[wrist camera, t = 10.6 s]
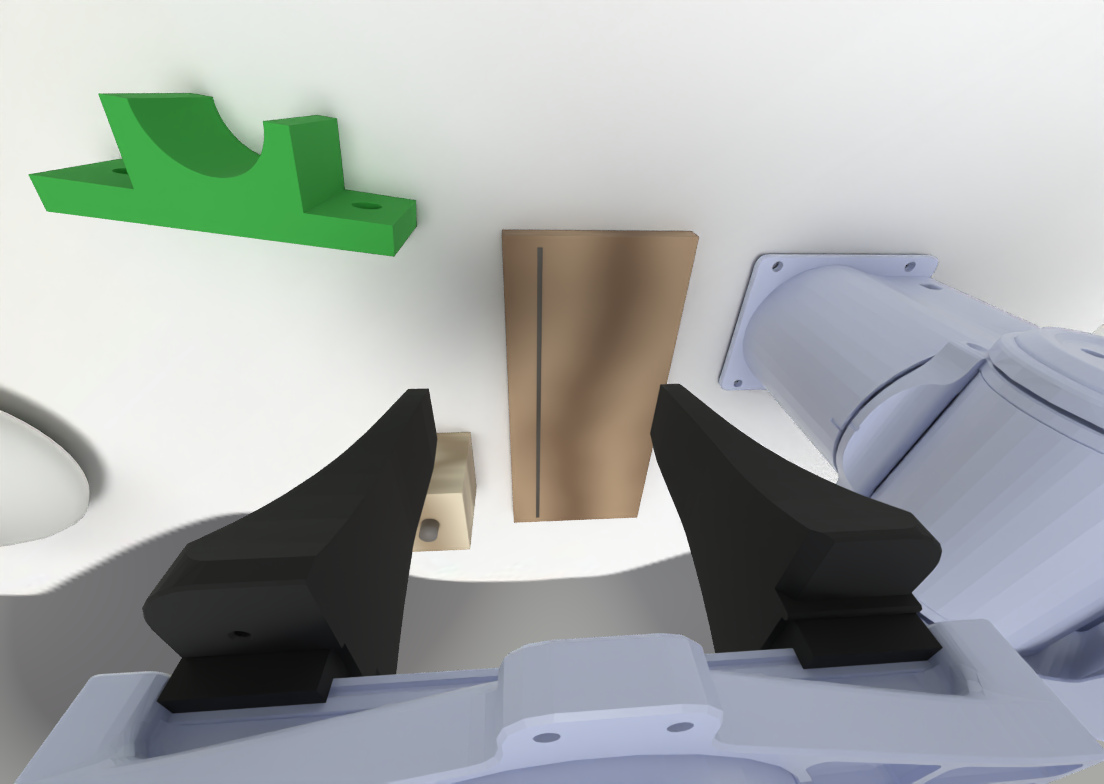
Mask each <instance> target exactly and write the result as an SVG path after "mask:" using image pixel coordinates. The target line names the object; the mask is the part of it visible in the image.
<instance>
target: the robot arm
mask: <svg viewBox="0 0 1104 784" xmlns="http://www.w3.org/2000/svg"><path fill="white" fill-rule="evenodd" d="M778 261H779V264H778V266H777V267H776V268H775V269H772V267H773V265H774V264H775V263H776V262H778ZM908 263H909V265H908V266H907V267H906V268H905V266H906V265H907V264H908ZM937 265H938V259H937V258H936V257H934V256H931V255H851V254H766V255H763V256H761V257H760V258H759V259H758V260H757V261H756V263H755V266H754V269H753V272H752V276H751V279H750V282H749V285H748V289H747V292H746V295H745V298H744V302H743V305H742V308H741V311H740V315H739V318H738V321H737V324H736V328H735V331H734V334H733V337H732V341H731V344H730V347H729V350H728V354H727V357H726V360H725V364H724V367H723V370H722V373H721V377H720V380H719V384H720V386H721V387H722V388H723V389H724V390H759V389H767V390H768V391H769V393H770V394H771V395H772V396H773V397H774V398H775V400H776V401H777V402H778V403H779V404H780V406H781V407H782V408H783V409H784V410H785V411H786V413H787V414H788V415H789V416H790V417H791V419H792V420H793V421H794V422H795V423H796V425H797V426H798V427H799V428H800V429H801V430H802V432H803V433H804V434H805V435H806V436H807V438H808V439H809V440H810V441H811V442H812V443H813V445H814V446H815V447H816V448H817V449H818V451H819V452H820V453H821V454H822V455H823V456H824V458H825V459H826V460H827V461H828V462H829V464H830V465H831V466H832V467H833V468H834V469H835V471H836V472H837V473H838V474H839V477H838V481H837V484H834V483H832V482H830V481H828V480H825V479H823V478H821V477H819V476H817V475H815V474H813V473H811V472H809V471H807V470H805V469H803V468H801V467H799V466H797V465H795V464H793V463H791V462H789V461H787V460H786V459H784V458H782V457H780V456H779V455H777V454H775V453H774V452H772V451H770V450H769V449H767V448H765V447H764V446H762V445H760V444H759V443H757V442H756V441H754V440H753V439H751V438H750V437H748V436H747V435H746V434H744V433H743V432H741V431H740V430H738V429H737V428H736V427H734V426H733V425H731V424H730V423H729V422H727V421H726V420H725V419H723V418H722V417H721V416H720V415H718V414H717V413H716V412H714V411H713V410H712V409H711V408H709V407H708V406H707V405H706V404H704V403H703V402H702V401H701V400H699V399H698V398H697V397H696V396H694V395H693V394H692V393H691V392H689V391H688V390H687V389H686V388H684V387H683V386H682V385H680V384H660V389H659V393H658V398H657V403H656V408H655V412H654V417H653V422H652V427H651V431H650V436H651V440H652V444H653V448H654V452H655V456H656V460H657V463H658V465H659V468H660V470H661V473H662V475H663V478H664V480H665V483H666V485H667V487H668V490H669V492H670V495H671V497H672V500H673V502H674V504H675V507H676V509H677V512H678V514H679V517H680V519H681V522H682V525H683V527H684V530H685V533H686V536H687V540H688V543H689V547H690V550H691V554H692V557H693V561H694V565H695V568H696V572H697V576H698V579H699V583H700V587H701V591H702V595H703V600H704V604H705V608H706V612H707V617H708V621H709V625H710V630H711V635H712V639H713V644H714V649H715V653H712V654H704V652H703V649H702V646H701V645H700V644H698V643H696V642H695V641H693V640H691V639H689V638H687V637H685V636H683V635H678V634H663V633H658V634H641V635H624V636H610V637H609V636H608V637H594V638H593V637H592V638H576V639H561V640H547V641H543V642H537V643H531V644H526V645H524V646H522V647H520V648H518V649H516V650H515V651H513V652H511V653H509V654H508V655H507V656H506V657H505V658H504V660H503V662H502V664H501V666H500V668H486V669H471V670H457V671H441V672H426V673H411V674H396V669H397V661H398V651H399V643H400V634H401V627H402V619H403V610H404V604H405V596H406V590H407V583H408V576H409V570H410V564H411V558H412V551H413V545H414V541H415V536H416V532H417V528H418V524H419V521H420V517H421V513H422V510H423V506H424V502H425V499H426V495H427V492H428V488H429V484H430V480H431V477H432V473H433V469H434V463H435V456H436V448H437V440H438V439H437V433H436V428H435V422H434V416H433V411H432V405H431V399H430V394H429V389H408V390H407V391H406V392H405V393H404V394H403V395H402V396H401V397H400V398H399V399H398V400H397V401H396V402H395V403H394V404H393V405H392V406H391V408H390V409H389V410H388V411H387V412H386V413H385V414H384V415H383V416H382V417H381V418H380V419H379V420H378V421H377V422H376V423H375V424H374V425H373V426H372V427H371V428H370V429H369V430H368V431H367V432H366V433H365V434H364V435H363V436H362V437H361V438H359V439H358V440H357V441H356V442H355V443H354V444H353V445H352V446H351V447H350V448H348V449H347V450H346V451H345V452H344V453H342V454H341V455H340V456H339V457H338V458H336V459H335V460H334V461H332V462H331V463H330V464H328V465H327V466H326V467H324V468H323V469H322V470H320V471H319V472H318V473H316V474H315V475H313V476H312V477H310V478H309V479H307V480H306V481H304V482H303V483H301V484H300V485H298V486H297V487H295V488H294V489H292V490H290V491H289V492H287V493H286V494H284V495H283V496H281V497H279V498H278V499H276V500H274V501H272V502H271V503H269V504H267V505H265V506H264V507H262V508H260V509H258V510H256V511H254V512H253V513H251V514H249V515H247V516H245V517H243V518H241V519H239V520H238V521H235V522H234V523H232V524H229V525H227V526H225V527H223V528H221V529H219V530H217V531H214V532H212V533H210V534H208V535H206V536H204V537H202V538H200V539H198V540H195V541H193V542H191V543H188V544H187V545H186V547H185V548H184V549H183V550H182V552H181V553H180V554H179V556H178V557H177V559H176V560H175V561H174V563H173V564H172V565H171V567H170V568H169V569H168V571H167V572H166V574H165V575H164V576H163V578H162V579H161V581H160V582H159V583H158V585H157V586H156V587H155V589H154V590H153V591H152V593H151V594H150V596H149V597H148V598H147V600H146V602H145V604H144V606H143V608H142V609H143V614H144V619H145V621H146V622H147V624H148V625H149V626H150V627H151V629H152V630H153V631H154V632H155V633H156V634H157V635H158V636H159V637H160V638H161V639H163V640H164V641H165V642H166V643H167V644H168V645H169V646H170V647H171V648H172V649H173V650H174V651H175V652H176V653H178V654H179V655H180V656H181V657H182V659H181V660H180V662H179V664H178V665H177V667H176V669H175V671H174V672H173V674H172V676H171V675H169V674H167V673H162V672H154V671H153V672H152V671H146V672H130V673H115V674H99V675H96V676H93V677H91V678H90V679H89V681H88V682H87V683H86V685H85V686H84V687H83V689H82V690H81V692H80V693H79V694H78V696H77V697H76V699H75V700H74V701H73V703H72V704H71V705H70V707H69V708H68V709H67V711H66V712H65V714H64V715H63V716H62V718H61V719H60V720H59V722H58V723H57V725H56V726H55V727H54V729H53V730H52V732H51V733H50V734H49V736H48V737H47V739H46V740H45V741H44V743H43V744H42V745H41V747H40V748H39V749H38V751H37V752H36V754H35V755H34V756H33V758H32V759H31V760H30V762H29V763H28V765H27V766H26V767H25V769H24V770H23V771H22V773H21V774H20V776H19V777H18V778H17V780H16V781H15V782H14V784H1047V783H1050V782H1052V781H1055V780H1057V779H1060V778H1062V777H1065V776H1067V775H1070V774H1073V773H1075V772H1078V771H1080V770H1083V769H1085V768H1088V767H1091V766H1093V765H1095V764H1098V763H1101V762H1103V761H1104V749H1103V747H1102V746H1101V745H1100V744H1099V743H1098V742H1097V741H1096V740H1100V741H1103V742H1104V337H1103V336H1099V335H1095V334H1091V333H1086V332H1081V331H1076V330H1071V329H1065V328H1056V327H1044V328H1039V327H1038V326H1036V325H1034V324H1032V323H1030V322H1028V321H1026V320H1023V319H1021V318H1019V317H1017V316H1014V315H1012V314H1010V313H1008V312H1005V311H1003V310H1001V309H999V308H997V307H994V306H992V305H990V304H988V303H985V302H983V301H981V300H979V299H976V298H974V297H972V296H970V295H967V294H965V293H963V292H961V291H958V290H956V289H954V288H952V287H950V286H947V285H945V284H943V283H941V282H938V281H936V280H934V279H932V278H931V276H932V274H933V273H934V271H935V269H936V267H937ZM737 380H739V381H738V382H737V383H734V382H735V381H737ZM1095 739H1096V740H1095Z"/></svg>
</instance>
